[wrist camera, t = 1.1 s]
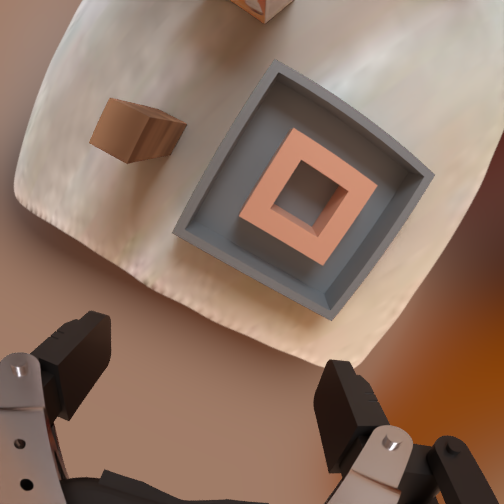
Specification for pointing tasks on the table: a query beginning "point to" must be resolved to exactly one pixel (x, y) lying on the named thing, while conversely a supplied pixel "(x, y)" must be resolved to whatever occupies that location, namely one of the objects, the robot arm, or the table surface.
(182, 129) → the walnut peg
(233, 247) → the walled bin
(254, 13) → the small box
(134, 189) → the table surface
